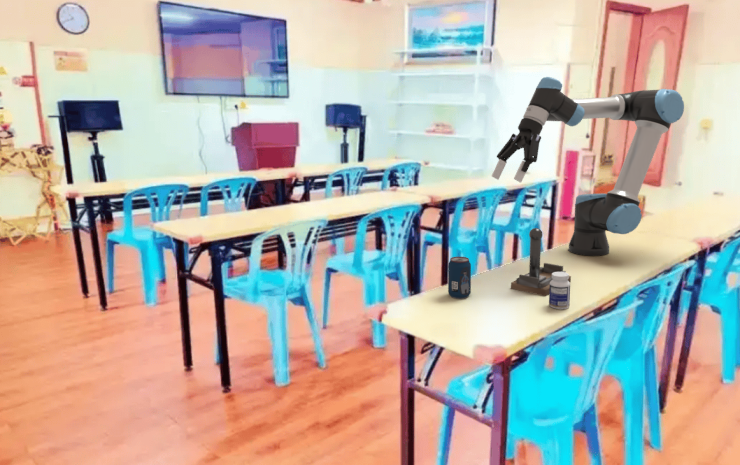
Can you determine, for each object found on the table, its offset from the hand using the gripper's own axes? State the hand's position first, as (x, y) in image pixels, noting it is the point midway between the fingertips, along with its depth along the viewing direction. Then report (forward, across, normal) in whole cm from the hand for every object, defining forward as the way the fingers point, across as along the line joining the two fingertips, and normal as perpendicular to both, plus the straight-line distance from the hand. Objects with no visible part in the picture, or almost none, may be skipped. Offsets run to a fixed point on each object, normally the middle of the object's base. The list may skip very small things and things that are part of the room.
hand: (505, 179), depth 187 cm
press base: (+27, +13, +21) cm, 37 cm away
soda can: (+42, +12, -4) cm, 44 cm away
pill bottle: (+32, +32, +15) cm, 47 cm away
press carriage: (+28, +16, +16) cm, 36 cm away
